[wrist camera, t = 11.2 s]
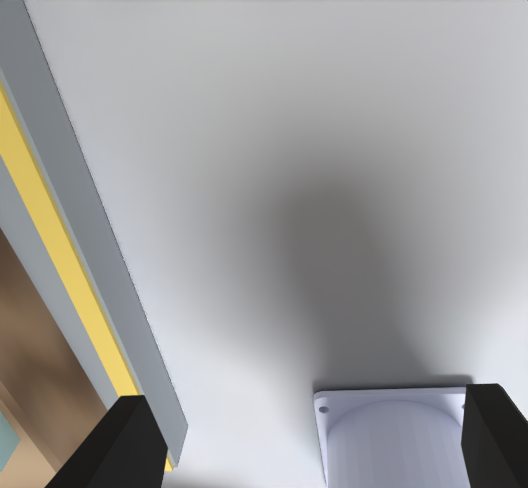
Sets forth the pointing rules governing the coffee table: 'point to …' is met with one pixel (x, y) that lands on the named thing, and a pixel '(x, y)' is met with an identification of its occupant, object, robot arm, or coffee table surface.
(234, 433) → the coffee table surface
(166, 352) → the coffee table surface
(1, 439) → the teal square block
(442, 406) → the robot arm
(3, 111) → the dock
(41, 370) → the wooden plank
